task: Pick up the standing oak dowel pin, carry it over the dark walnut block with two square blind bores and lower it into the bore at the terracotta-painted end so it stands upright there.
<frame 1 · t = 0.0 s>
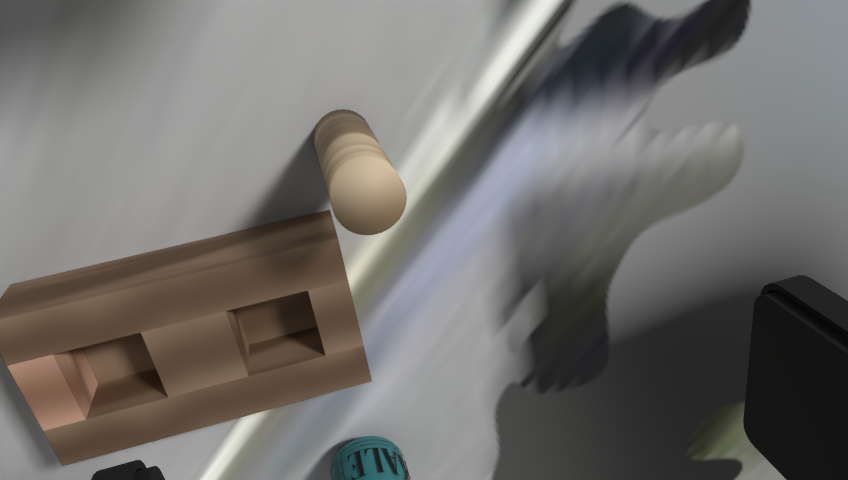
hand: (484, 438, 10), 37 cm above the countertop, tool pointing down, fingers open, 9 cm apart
beverage bottle: (363, 448, 58), on the countertop
pin: (342, 138, 45), on the countertop
bore block: (201, 316, 48), on the countertop
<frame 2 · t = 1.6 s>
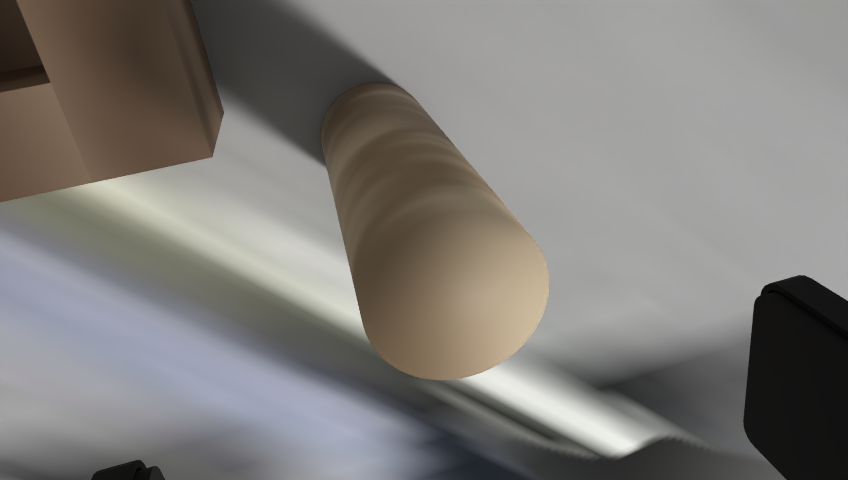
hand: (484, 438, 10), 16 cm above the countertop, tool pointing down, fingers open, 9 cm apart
pin: (375, 136, 24), on the countertop
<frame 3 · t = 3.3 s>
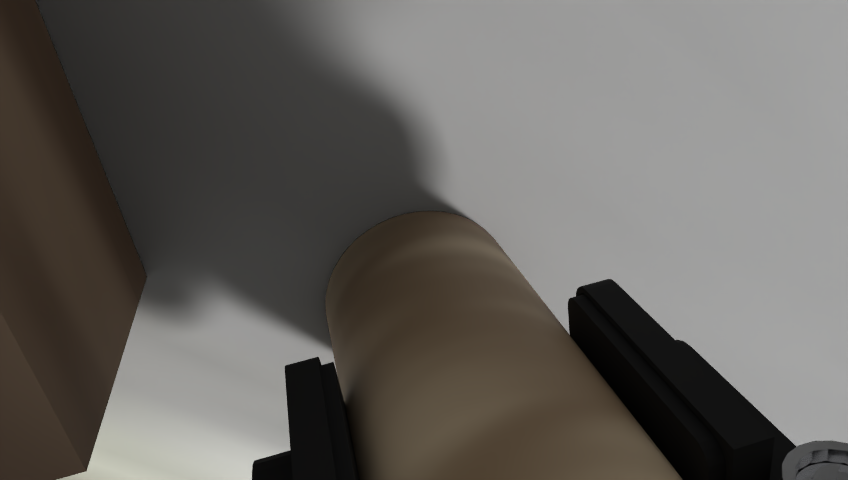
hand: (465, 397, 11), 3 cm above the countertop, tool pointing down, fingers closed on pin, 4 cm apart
pin: (420, 298, 14), on the countertop, touching gripper
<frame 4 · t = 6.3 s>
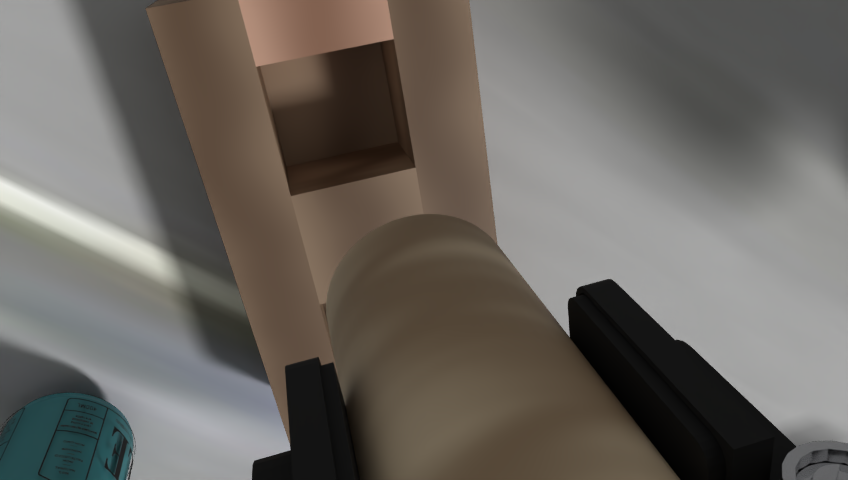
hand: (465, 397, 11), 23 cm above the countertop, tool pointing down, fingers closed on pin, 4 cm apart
beverage bottle: (80, 417, 36), on the countertop
pin: (421, 301, 14), point 20 cm above the countertop, touching gripper
bore block: (351, 198, 34), on the countertop
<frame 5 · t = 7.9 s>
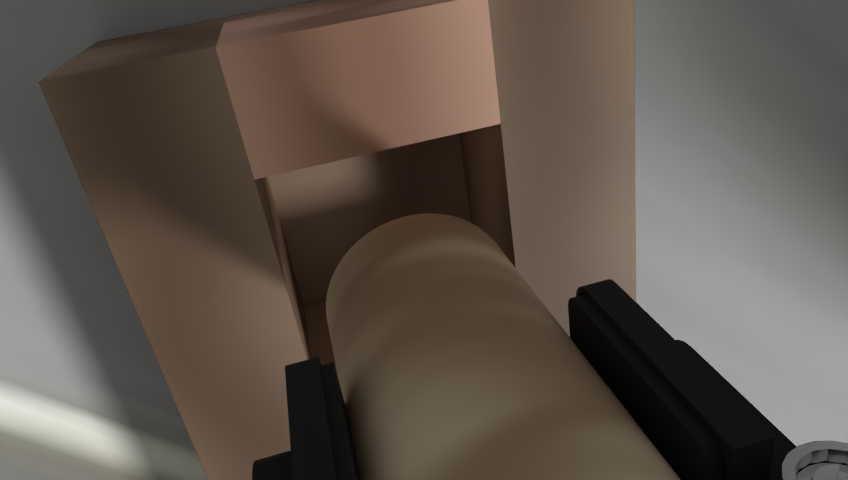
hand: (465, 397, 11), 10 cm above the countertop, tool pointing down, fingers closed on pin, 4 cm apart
pin: (421, 300, 14), point 7 cm above the countertop, touching gripper
bore block: (399, 334, 22), on the countertop
when the fingers open (6 cm above the countertop, at t = 9.1 s): pin drops 1 cm, resting on bore block.
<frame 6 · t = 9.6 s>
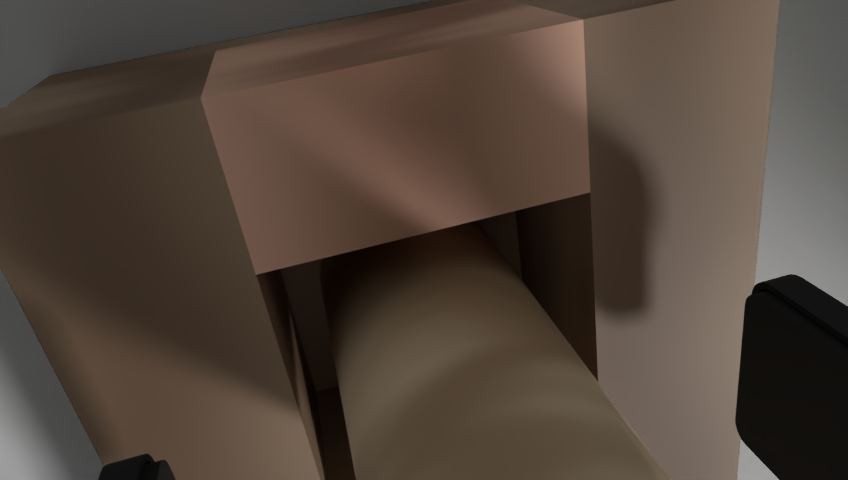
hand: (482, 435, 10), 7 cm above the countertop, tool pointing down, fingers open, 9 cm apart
pin: (406, 271, 15), point 1 cm above the countertop, touching bore block
bore block: (430, 418, 18), on the countertop
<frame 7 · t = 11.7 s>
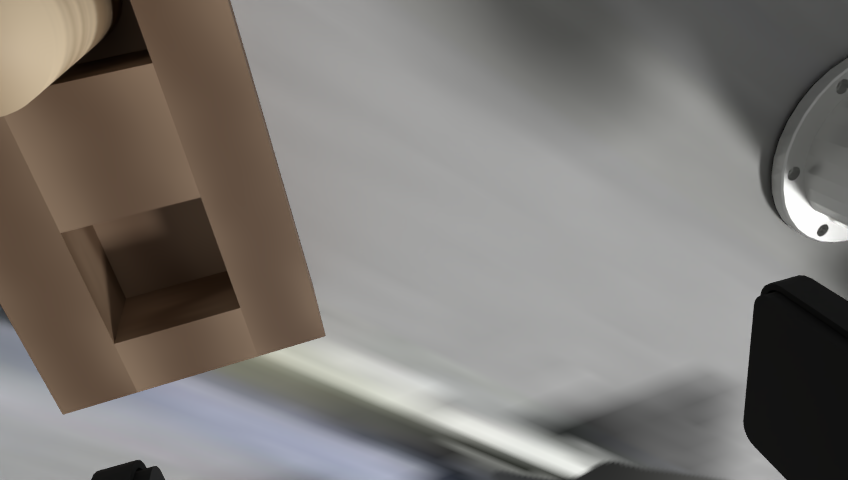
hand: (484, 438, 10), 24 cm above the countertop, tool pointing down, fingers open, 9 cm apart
bore block: (122, 117, 29), on the countertop
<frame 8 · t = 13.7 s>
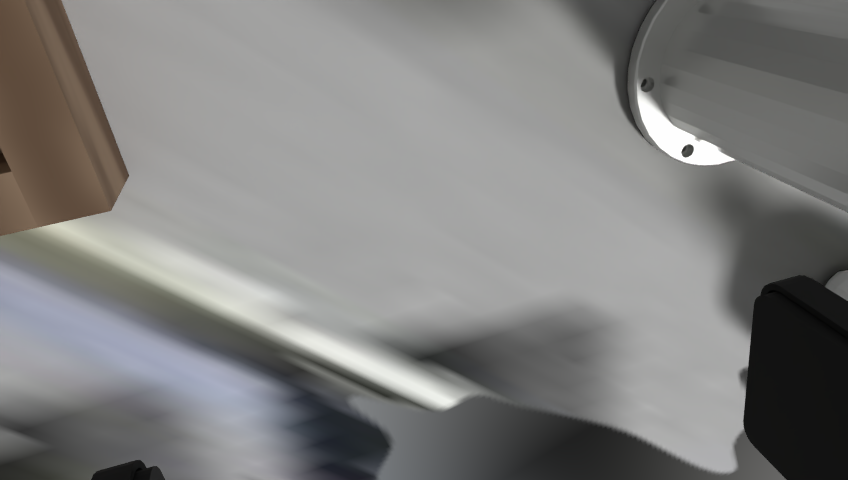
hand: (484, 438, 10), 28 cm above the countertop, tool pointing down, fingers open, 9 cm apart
soap bottle: (836, 319, 52), on the countertop
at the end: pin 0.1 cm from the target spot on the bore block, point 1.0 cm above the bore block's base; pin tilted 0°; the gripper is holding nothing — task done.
